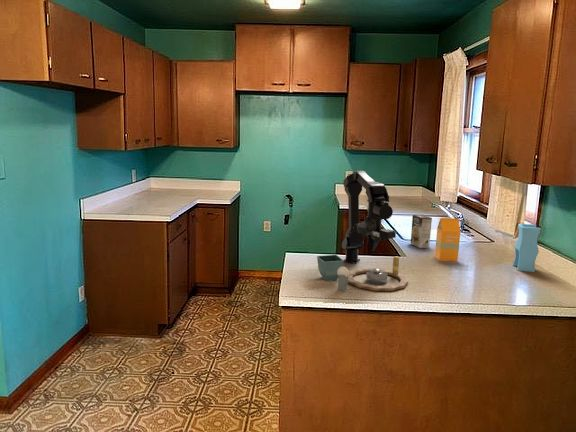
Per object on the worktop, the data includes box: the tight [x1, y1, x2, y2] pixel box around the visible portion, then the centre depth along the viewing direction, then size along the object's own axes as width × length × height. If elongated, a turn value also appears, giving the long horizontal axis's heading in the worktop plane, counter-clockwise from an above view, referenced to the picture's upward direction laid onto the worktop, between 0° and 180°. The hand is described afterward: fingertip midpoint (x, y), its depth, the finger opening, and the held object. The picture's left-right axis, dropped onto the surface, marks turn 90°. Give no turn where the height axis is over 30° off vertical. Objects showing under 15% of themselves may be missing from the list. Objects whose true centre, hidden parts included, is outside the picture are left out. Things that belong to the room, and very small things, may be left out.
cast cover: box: [365, 267, 388, 286], centre depth 193 cm, size 8×8×5 cm
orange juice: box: [434, 217, 461, 262], centre depth 226 cm, size 8×9×20 cm
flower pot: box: [316, 254, 345, 282], centre depth 194 cm, size 9×9×9 cm
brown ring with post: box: [348, 255, 409, 292], centre depth 192 cm, size 24×24×8 cm
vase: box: [512, 223, 542, 273], centre depth 212 cm, size 8×8×20 cm
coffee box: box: [410, 214, 433, 249], centre depth 250 cm, size 9×6×16 cm
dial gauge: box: [337, 266, 350, 292], centre depth 182 cm, size 3×4×9 cm
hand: (372, 250), depth 197 cm, fingers closed
